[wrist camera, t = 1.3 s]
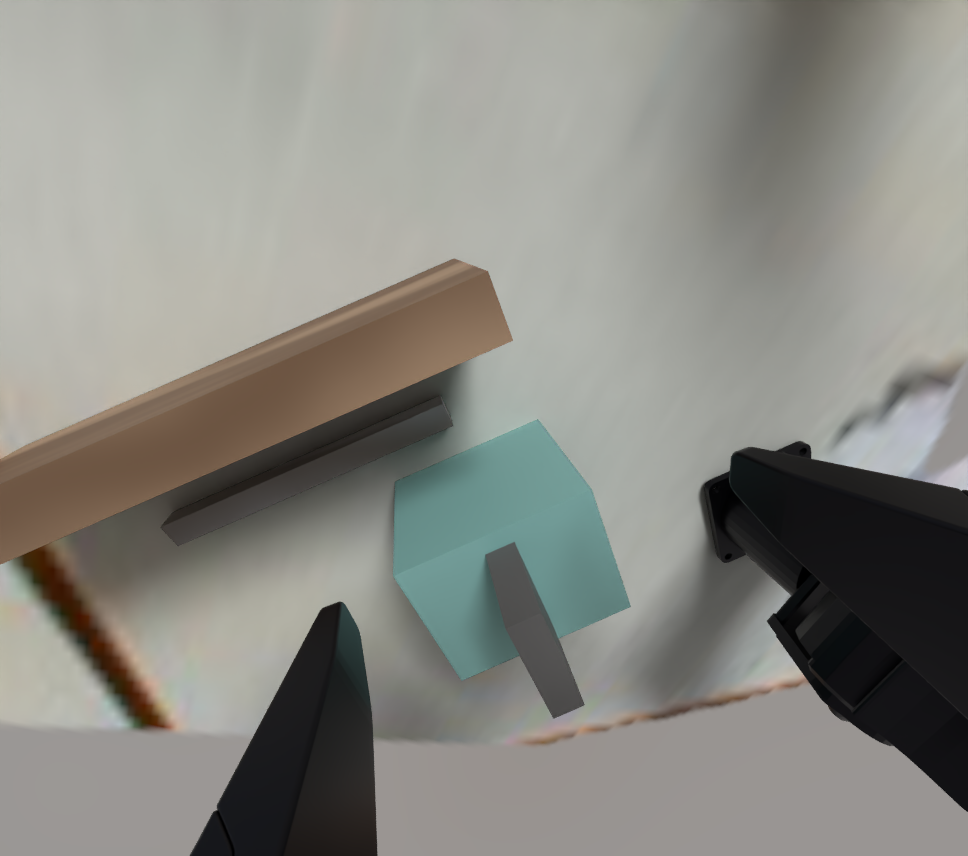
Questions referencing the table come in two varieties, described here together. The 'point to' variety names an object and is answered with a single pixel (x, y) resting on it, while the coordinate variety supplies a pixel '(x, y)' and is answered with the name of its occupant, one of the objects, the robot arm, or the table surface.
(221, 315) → the table surface
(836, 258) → the table surface
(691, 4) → the table surface
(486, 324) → the brown wooden beam
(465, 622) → the teal handled box
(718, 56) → the table surface
